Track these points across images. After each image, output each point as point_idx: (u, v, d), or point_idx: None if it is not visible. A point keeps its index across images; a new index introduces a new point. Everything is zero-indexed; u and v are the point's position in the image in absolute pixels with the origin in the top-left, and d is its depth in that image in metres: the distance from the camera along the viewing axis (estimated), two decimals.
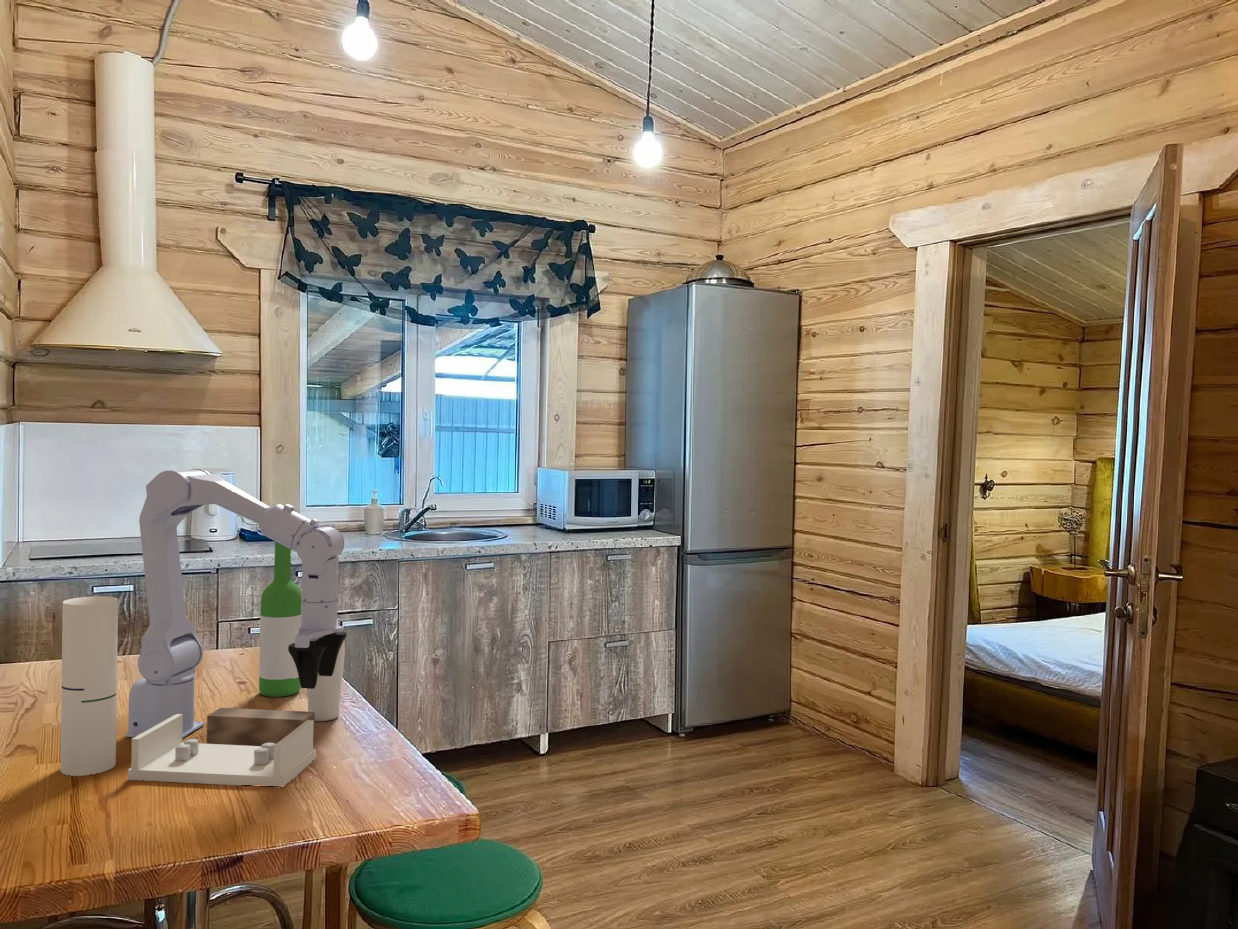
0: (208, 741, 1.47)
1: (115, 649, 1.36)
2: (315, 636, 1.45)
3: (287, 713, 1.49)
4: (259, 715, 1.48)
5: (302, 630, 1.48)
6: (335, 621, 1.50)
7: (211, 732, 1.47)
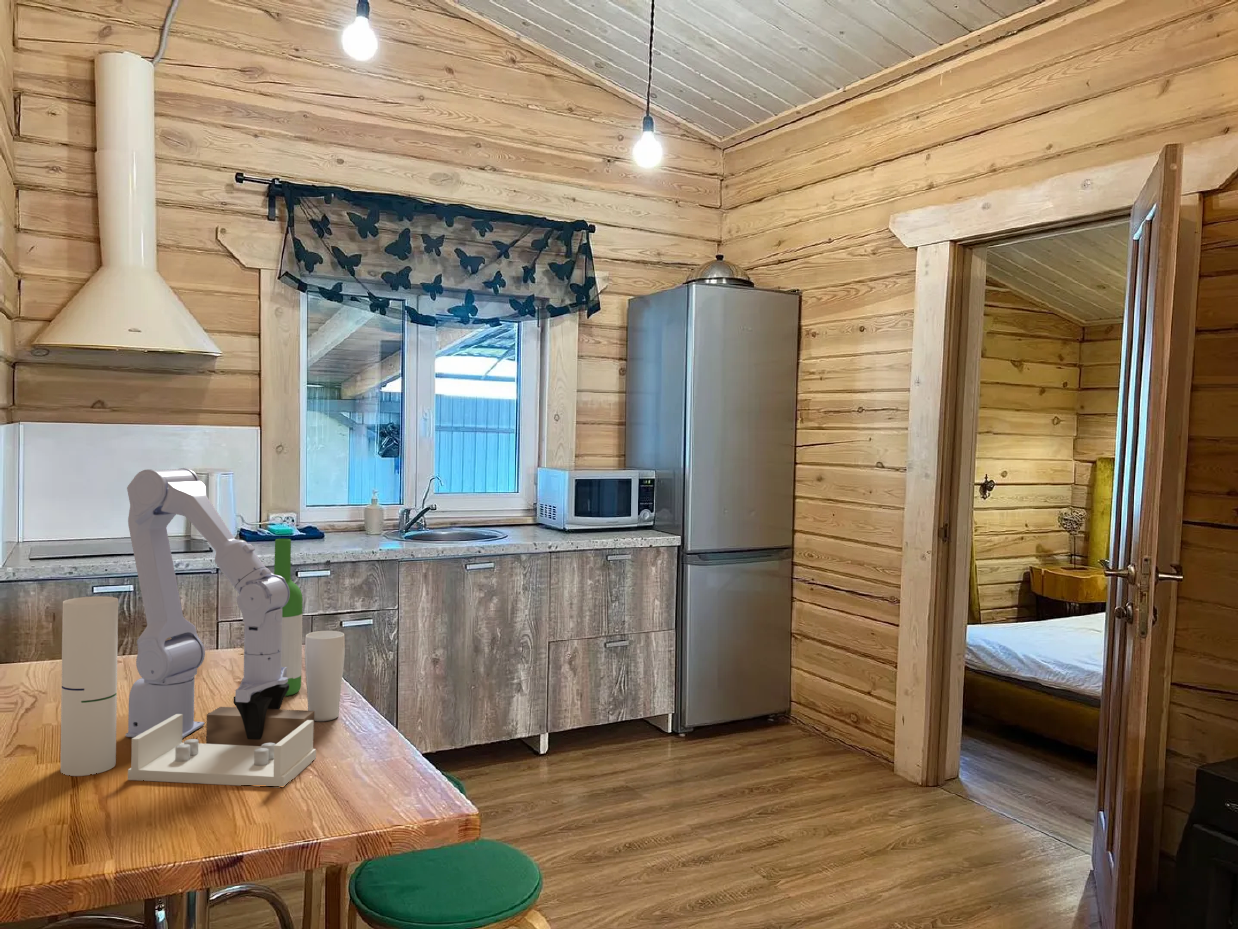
0: (208, 740, 1.47)
1: (115, 649, 1.36)
2: (257, 690, 1.43)
3: (287, 712, 1.49)
4: None
5: (244, 683, 1.46)
6: (279, 673, 1.48)
7: (211, 731, 1.47)
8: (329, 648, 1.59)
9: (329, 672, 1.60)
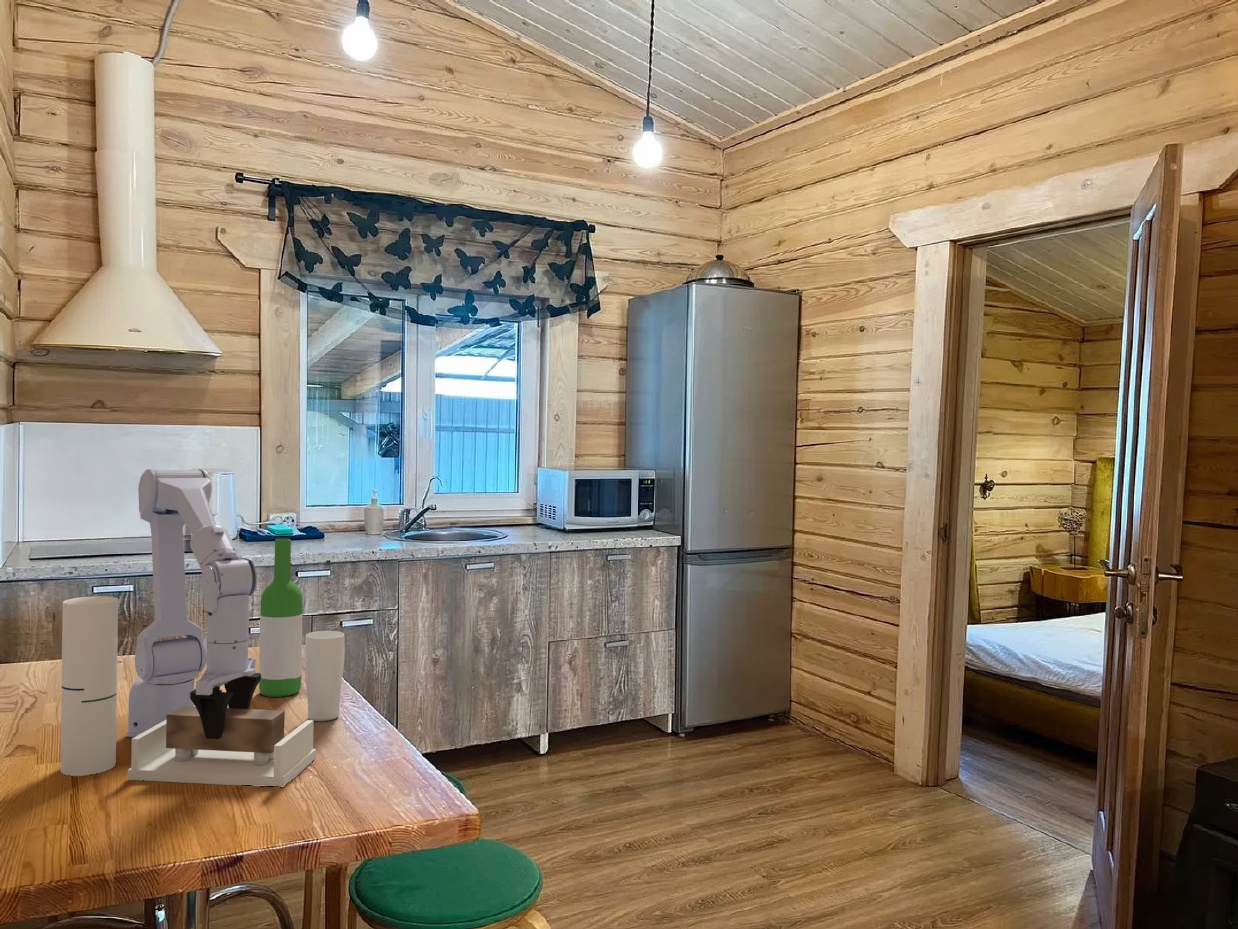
0: (168, 742, 1.35)
1: (115, 649, 1.36)
2: (220, 681, 1.31)
3: (254, 712, 1.37)
4: None
5: (207, 674, 1.34)
6: (245, 663, 1.36)
7: (171, 733, 1.35)
8: (330, 648, 1.59)
9: (329, 672, 1.60)
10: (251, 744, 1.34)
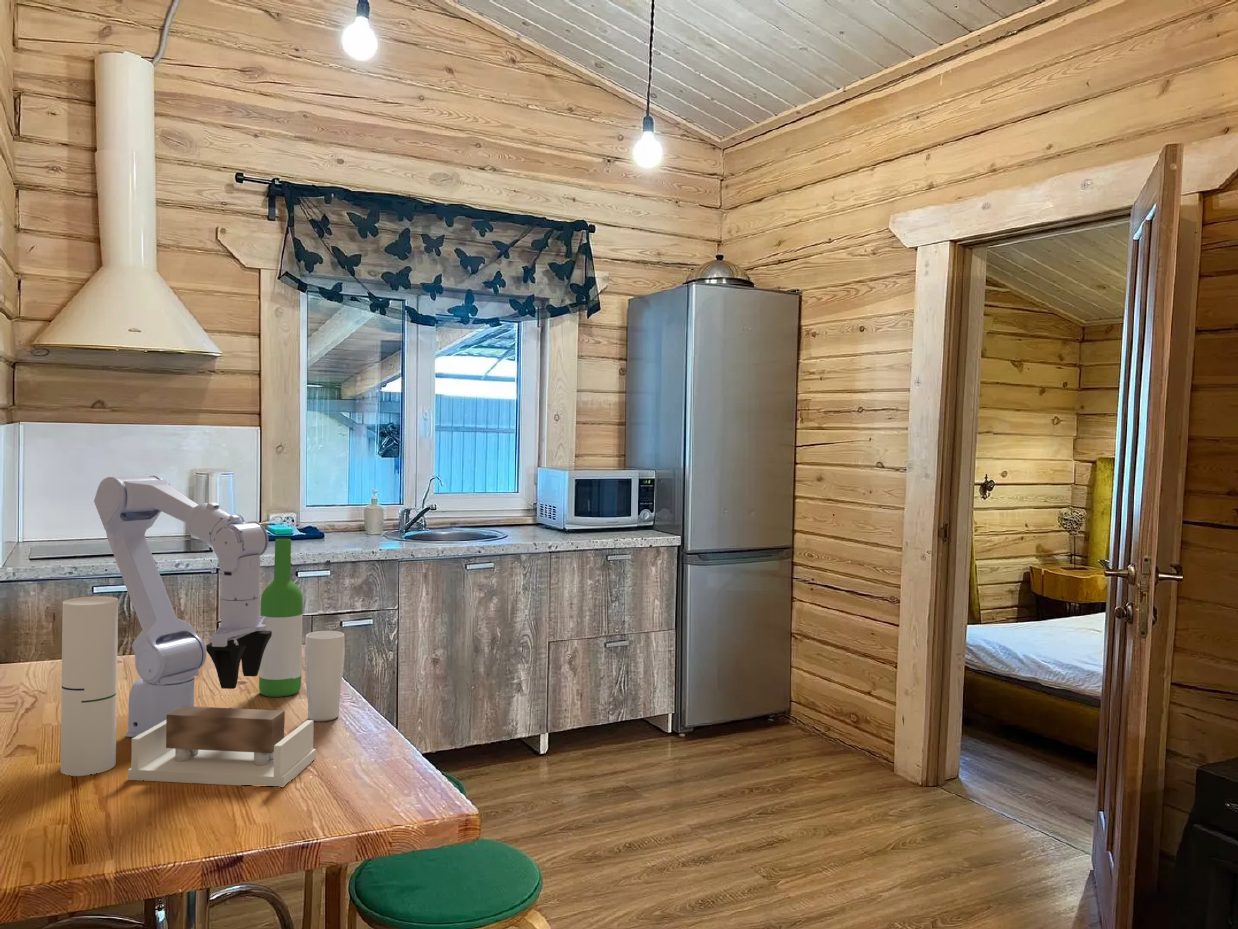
0: (168, 742, 1.35)
1: (115, 649, 1.36)
2: (234, 635, 1.41)
3: (254, 712, 1.37)
4: (223, 714, 1.36)
5: (222, 629, 1.44)
6: (257, 619, 1.46)
7: (171, 733, 1.35)
8: (329, 648, 1.59)
9: (329, 672, 1.60)
10: (251, 744, 1.34)
